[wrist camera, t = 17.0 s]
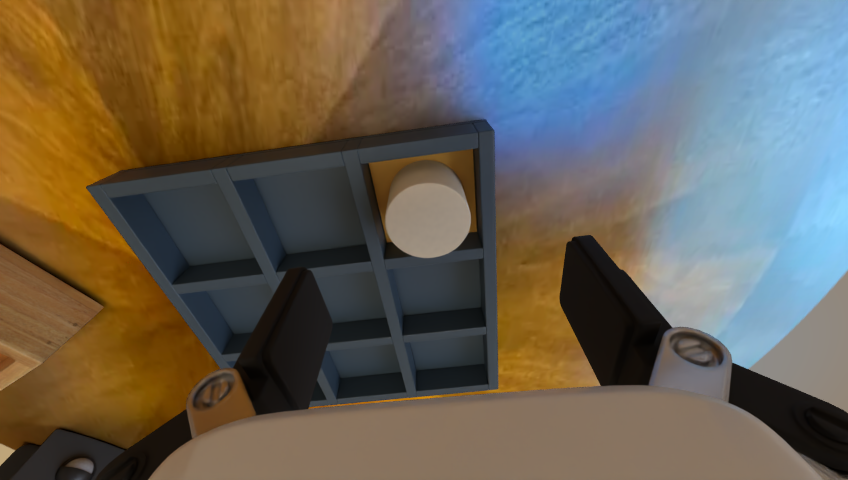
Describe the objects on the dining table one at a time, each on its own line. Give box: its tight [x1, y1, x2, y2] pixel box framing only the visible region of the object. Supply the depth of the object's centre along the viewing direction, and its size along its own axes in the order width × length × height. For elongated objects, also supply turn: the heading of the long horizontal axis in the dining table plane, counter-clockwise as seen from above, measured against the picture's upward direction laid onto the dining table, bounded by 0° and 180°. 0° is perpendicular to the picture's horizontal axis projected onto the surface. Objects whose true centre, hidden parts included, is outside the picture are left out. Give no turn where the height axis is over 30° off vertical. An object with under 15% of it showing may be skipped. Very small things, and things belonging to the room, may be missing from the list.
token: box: [385, 160, 471, 258], centre depth 18 cm, size 4×4×3 cm
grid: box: [86, 120, 498, 407], centre depth 23 cm, size 21×21×2 cm
